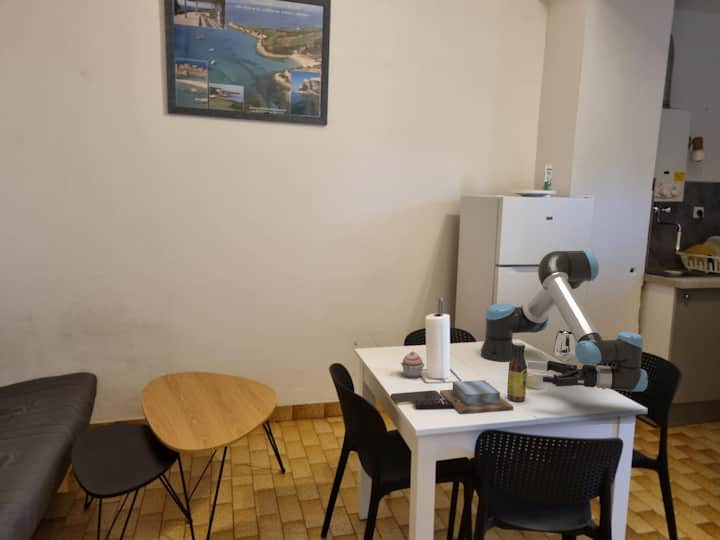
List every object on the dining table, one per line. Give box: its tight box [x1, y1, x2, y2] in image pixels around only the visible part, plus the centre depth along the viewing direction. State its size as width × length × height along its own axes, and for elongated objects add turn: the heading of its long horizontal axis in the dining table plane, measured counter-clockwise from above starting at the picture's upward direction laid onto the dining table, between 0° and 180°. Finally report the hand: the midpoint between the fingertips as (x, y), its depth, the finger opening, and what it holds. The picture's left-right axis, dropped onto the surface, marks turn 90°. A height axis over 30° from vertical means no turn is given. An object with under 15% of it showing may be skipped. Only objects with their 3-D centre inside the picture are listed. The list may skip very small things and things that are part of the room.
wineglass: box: [552, 330, 576, 375], centre depth 198 cm, size 8×8×20 cm
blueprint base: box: [439, 379, 514, 415], centre depth 179 cm, size 19×18×5 cm
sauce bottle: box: [506, 342, 528, 402], centre depth 181 cm, size 7×6×20 cm
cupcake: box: [400, 350, 425, 379], centre depth 203 cm, size 9×9×10 cm
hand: (529, 370), depth 179 cm, fingers open, 13 cm apart
